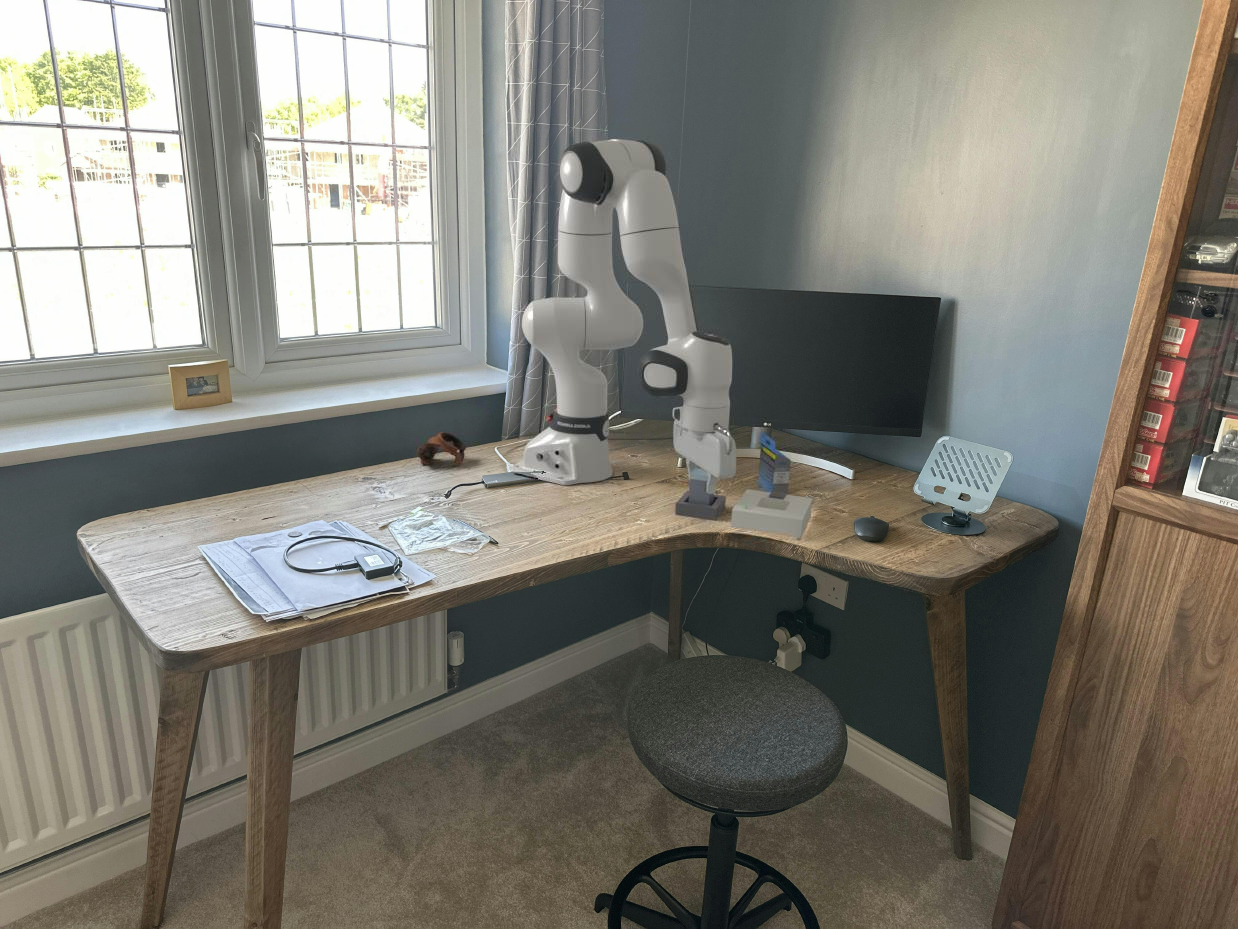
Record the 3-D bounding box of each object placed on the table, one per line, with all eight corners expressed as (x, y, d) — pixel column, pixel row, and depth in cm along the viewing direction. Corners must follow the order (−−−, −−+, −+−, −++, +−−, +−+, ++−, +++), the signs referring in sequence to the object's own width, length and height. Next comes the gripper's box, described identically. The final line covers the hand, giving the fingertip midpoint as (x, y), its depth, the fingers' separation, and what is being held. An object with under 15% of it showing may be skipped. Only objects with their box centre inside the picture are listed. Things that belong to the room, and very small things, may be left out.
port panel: (730, 529, 156) (732, 507, 155) (745, 508, 168) (747, 486, 167) (800, 540, 152) (802, 517, 151) (810, 517, 164) (812, 495, 162)
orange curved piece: (434, 457, 198) (450, 429, 196) (460, 481, 195) (477, 452, 193) (400, 457, 187) (417, 426, 185) (427, 482, 184) (445, 451, 182)
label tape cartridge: (788, 497, 175) (793, 441, 171) (770, 498, 174) (775, 441, 170) (773, 484, 183) (777, 430, 180) (756, 485, 182) (760, 430, 179)
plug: (688, 512, 163) (690, 473, 160) (693, 506, 166) (695, 468, 164) (707, 515, 161) (710, 476, 159) (712, 509, 165) (715, 470, 163)
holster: (675, 517, 162) (675, 502, 161) (686, 504, 169) (687, 490, 168) (715, 523, 159) (716, 508, 158) (725, 510, 166) (726, 496, 166)
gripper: (747, 430, 150) (742, 502, 154) (697, 405, 168) (693, 470, 173) (716, 432, 148) (711, 505, 152) (668, 407, 166) (666, 473, 170)
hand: (701, 486), depth 162 cm, fingers closed on plug, 6 cm apart
